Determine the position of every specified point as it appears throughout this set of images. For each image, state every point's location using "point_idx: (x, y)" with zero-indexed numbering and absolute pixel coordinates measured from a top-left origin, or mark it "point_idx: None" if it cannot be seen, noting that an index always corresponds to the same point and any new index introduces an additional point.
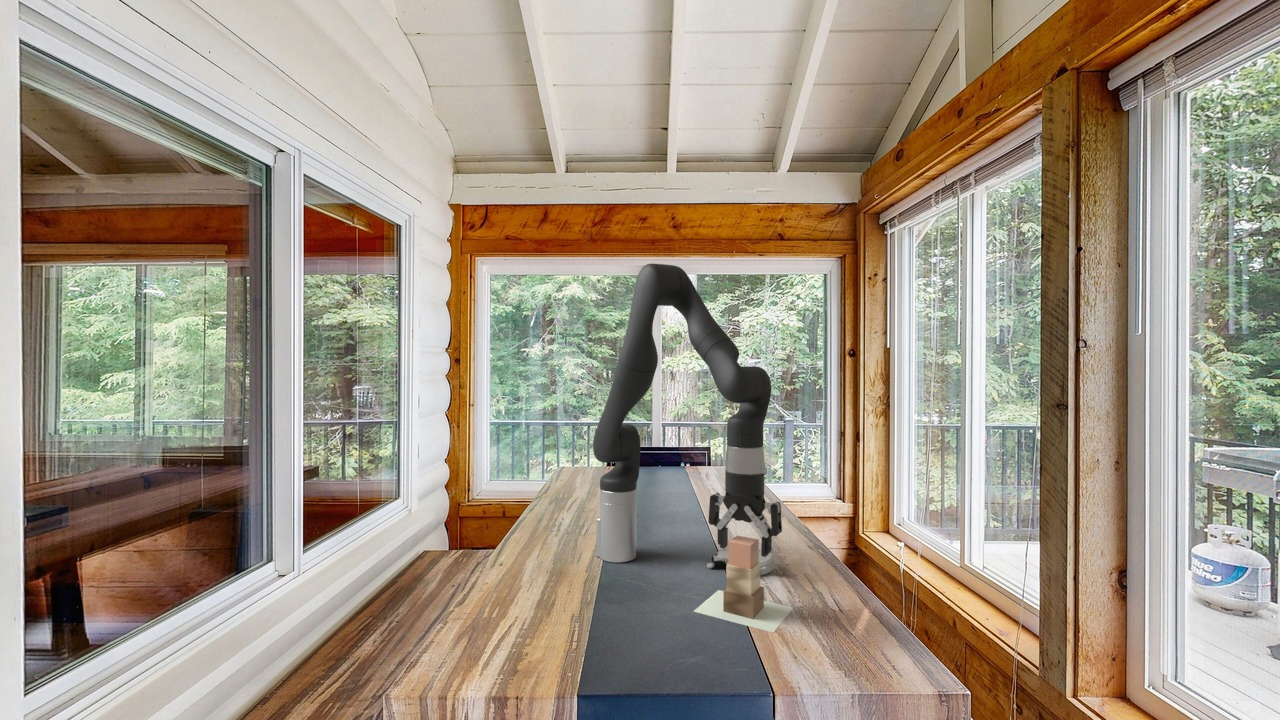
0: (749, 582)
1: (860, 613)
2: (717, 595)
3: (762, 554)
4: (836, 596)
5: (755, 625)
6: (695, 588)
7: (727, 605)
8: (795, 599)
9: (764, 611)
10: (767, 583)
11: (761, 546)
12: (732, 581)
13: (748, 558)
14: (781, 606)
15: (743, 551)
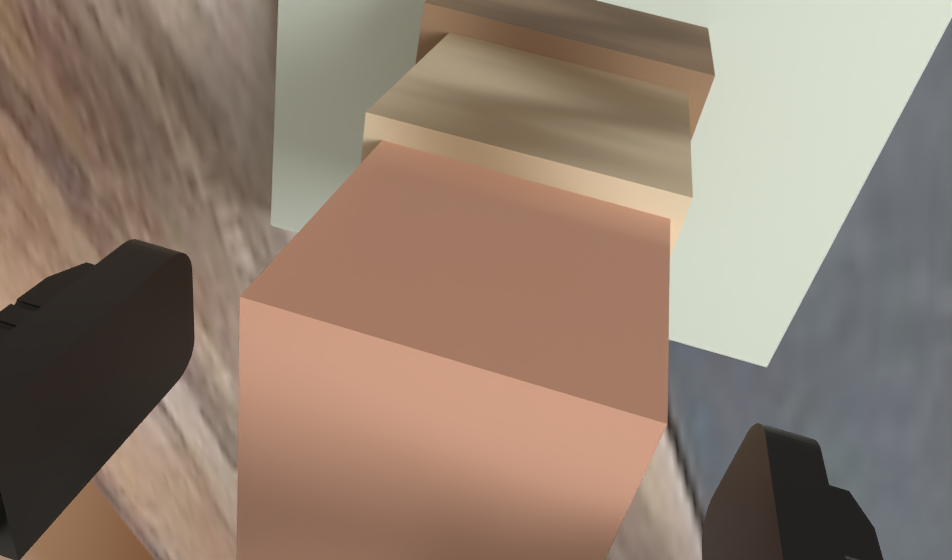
0: (428, 72)
1: (18, 293)
2: (770, 285)
3: (155, 253)
4: (161, 436)
5: None
6: (935, 414)
7: (673, 34)
8: None
9: None
10: None
11: (97, 322)
12: (620, 111)
13: (360, 204)
14: None
15: (407, 268)
